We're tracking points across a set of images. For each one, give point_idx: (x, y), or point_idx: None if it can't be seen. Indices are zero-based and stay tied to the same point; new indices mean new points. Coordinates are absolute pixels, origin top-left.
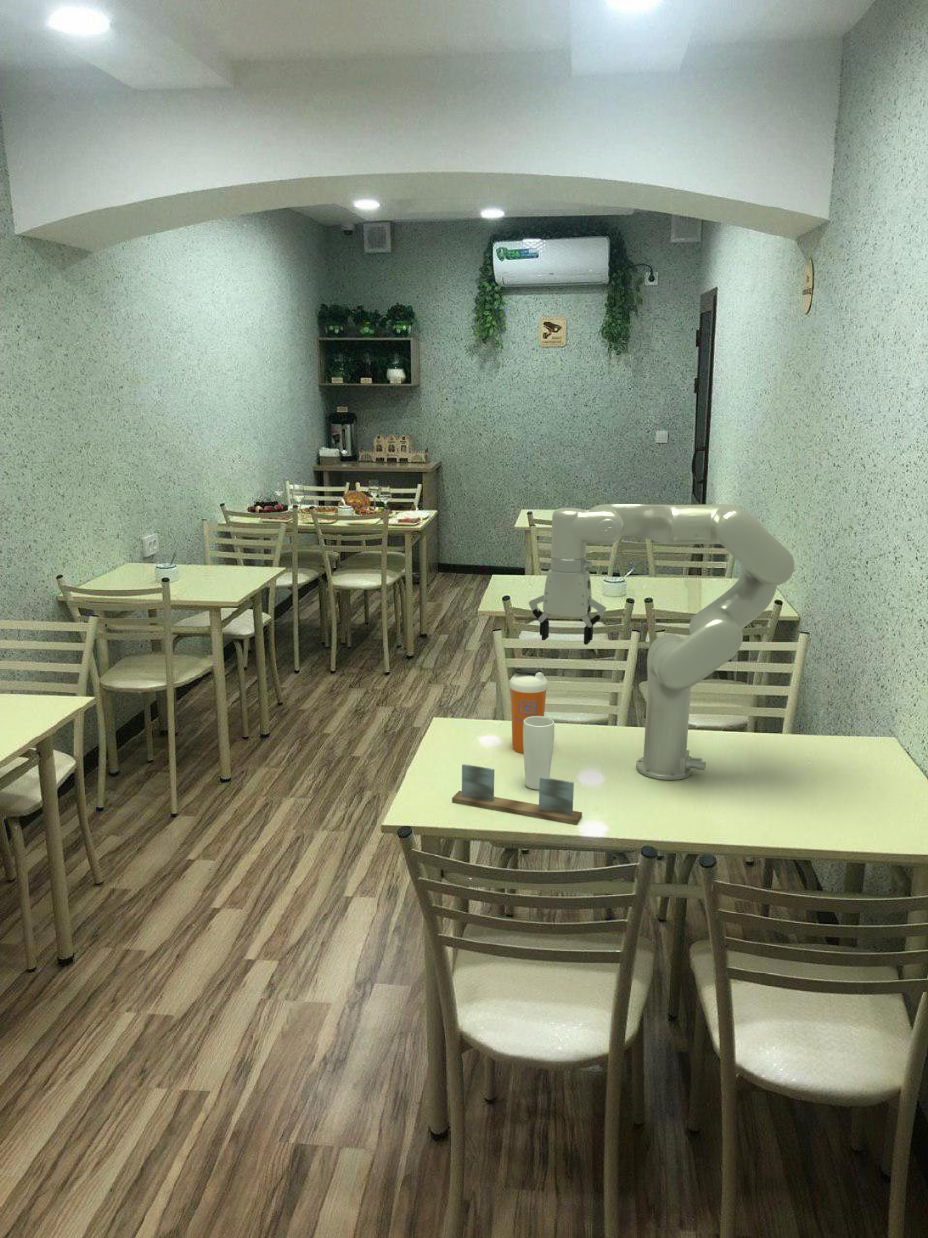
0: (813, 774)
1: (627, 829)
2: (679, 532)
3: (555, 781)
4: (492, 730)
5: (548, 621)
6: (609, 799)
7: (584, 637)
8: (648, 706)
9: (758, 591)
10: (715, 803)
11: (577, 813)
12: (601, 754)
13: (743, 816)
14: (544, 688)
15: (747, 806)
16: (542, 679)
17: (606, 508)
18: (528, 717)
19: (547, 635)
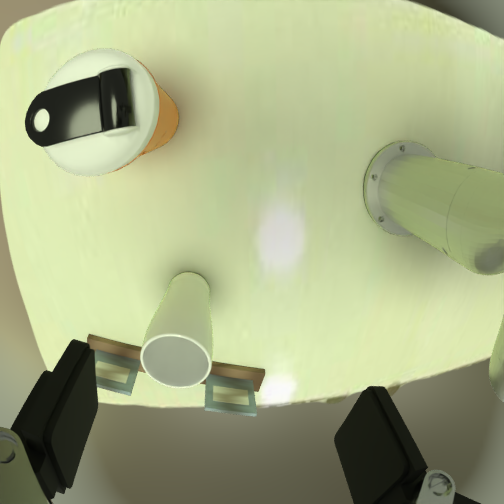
0: None
1: (318, 383)
2: None
3: (229, 412)
4: (78, 44)
5: (53, 446)
6: (306, 315)
7: (345, 466)
8: (446, 238)
9: None
10: (437, 294)
11: (259, 377)
12: (303, 122)
13: (451, 320)
14: (150, 135)
15: (464, 293)
16: (134, 131)
17: None
18: (146, 346)
19: (89, 378)
